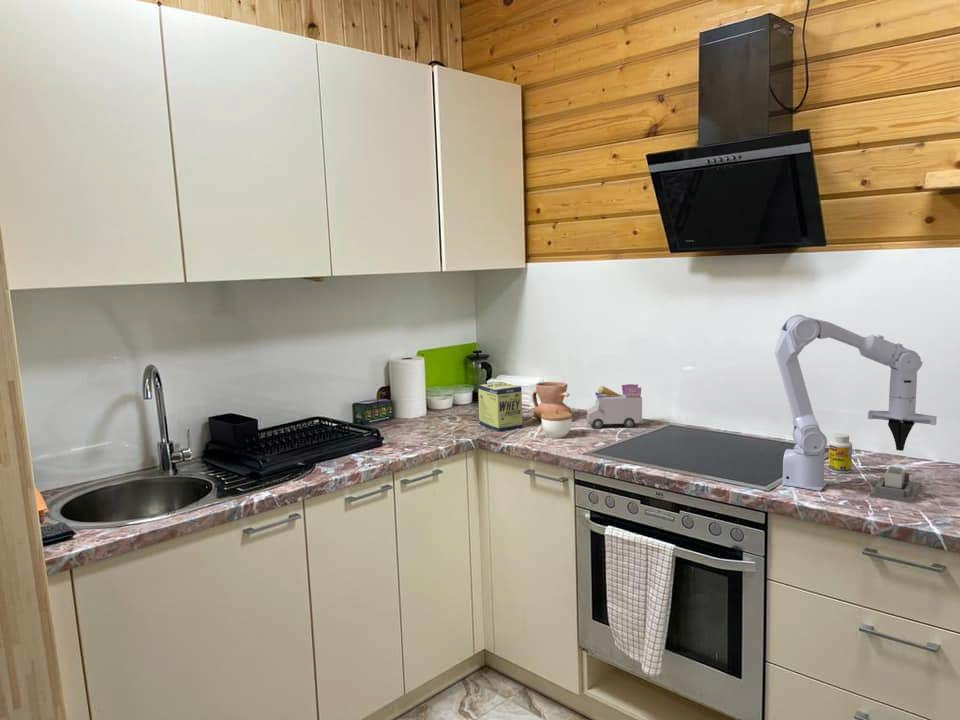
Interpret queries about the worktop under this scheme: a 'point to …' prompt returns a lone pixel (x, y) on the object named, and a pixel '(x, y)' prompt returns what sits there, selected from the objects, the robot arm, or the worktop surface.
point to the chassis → (896, 491)
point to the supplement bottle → (840, 454)
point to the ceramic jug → (550, 397)
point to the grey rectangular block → (894, 478)
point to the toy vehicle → (616, 407)
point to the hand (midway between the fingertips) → (900, 449)
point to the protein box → (500, 406)
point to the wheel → (906, 477)
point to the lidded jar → (556, 423)
